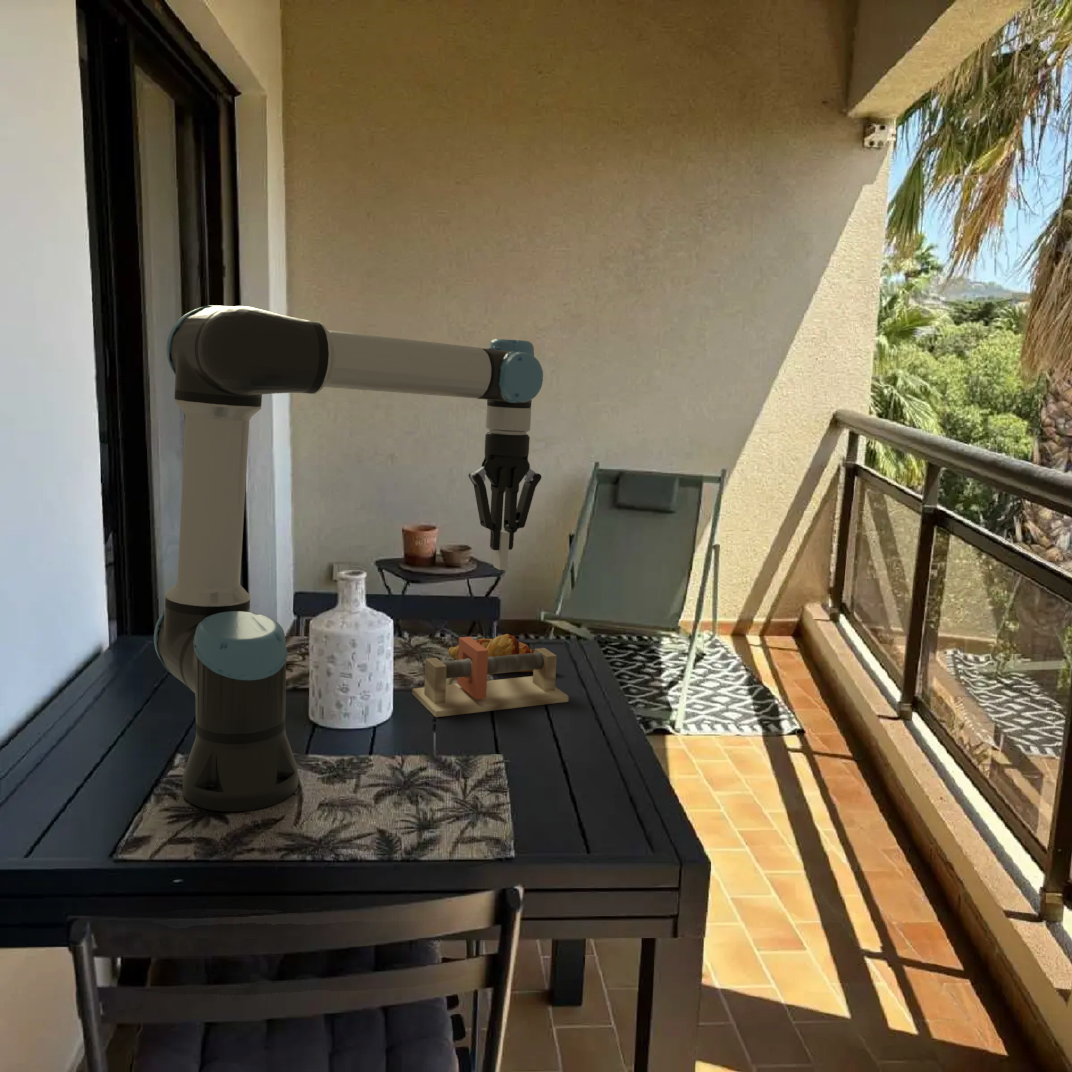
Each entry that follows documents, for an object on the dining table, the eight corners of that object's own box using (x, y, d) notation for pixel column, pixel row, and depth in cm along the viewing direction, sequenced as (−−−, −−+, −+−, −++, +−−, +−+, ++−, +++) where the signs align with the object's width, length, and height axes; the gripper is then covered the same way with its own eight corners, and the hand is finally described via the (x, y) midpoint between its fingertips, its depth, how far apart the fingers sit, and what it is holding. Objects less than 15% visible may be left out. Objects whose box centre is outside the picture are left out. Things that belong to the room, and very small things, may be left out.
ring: (467, 682, 181) (469, 636, 179) (486, 697, 174) (488, 650, 172) (457, 683, 180) (459, 637, 179) (475, 698, 173) (477, 651, 171)
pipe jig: (538, 680, 189) (540, 641, 188) (568, 701, 179) (570, 660, 178) (412, 693, 179) (413, 652, 177) (435, 717, 168) (437, 673, 167)
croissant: (443, 681, 197) (437, 651, 192) (457, 645, 205) (452, 616, 200) (549, 692, 193) (546, 662, 188) (559, 655, 200) (556, 626, 196)
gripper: (532, 430, 177) (525, 562, 181) (463, 429, 171) (457, 565, 175) (552, 435, 170) (543, 571, 174) (480, 433, 164) (473, 574, 169)
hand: (500, 568), depth 175 cm, fingers closed
